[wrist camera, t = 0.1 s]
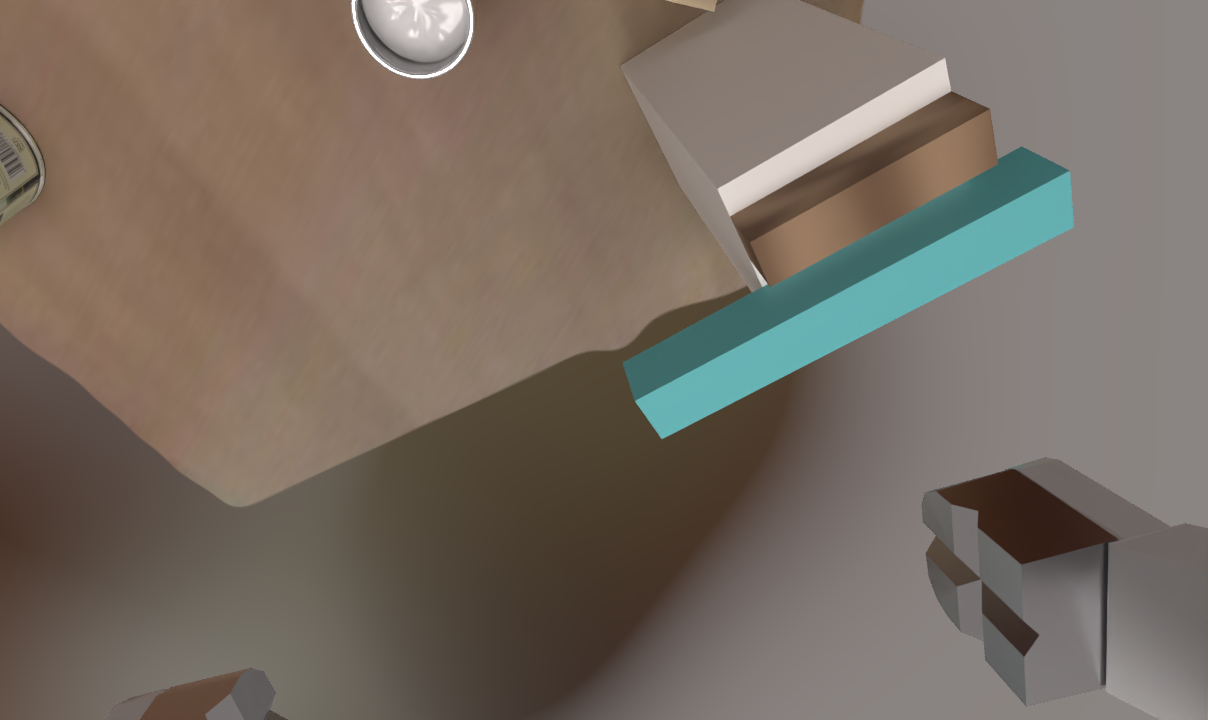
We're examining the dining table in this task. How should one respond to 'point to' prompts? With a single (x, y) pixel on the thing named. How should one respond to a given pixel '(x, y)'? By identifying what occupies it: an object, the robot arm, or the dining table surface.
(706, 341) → the teal bar
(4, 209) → the coffee can
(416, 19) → the beer glass
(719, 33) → the pedestal
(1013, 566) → the robot arm
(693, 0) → the oak cube
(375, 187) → the dining table surface
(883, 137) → the walnut rail
